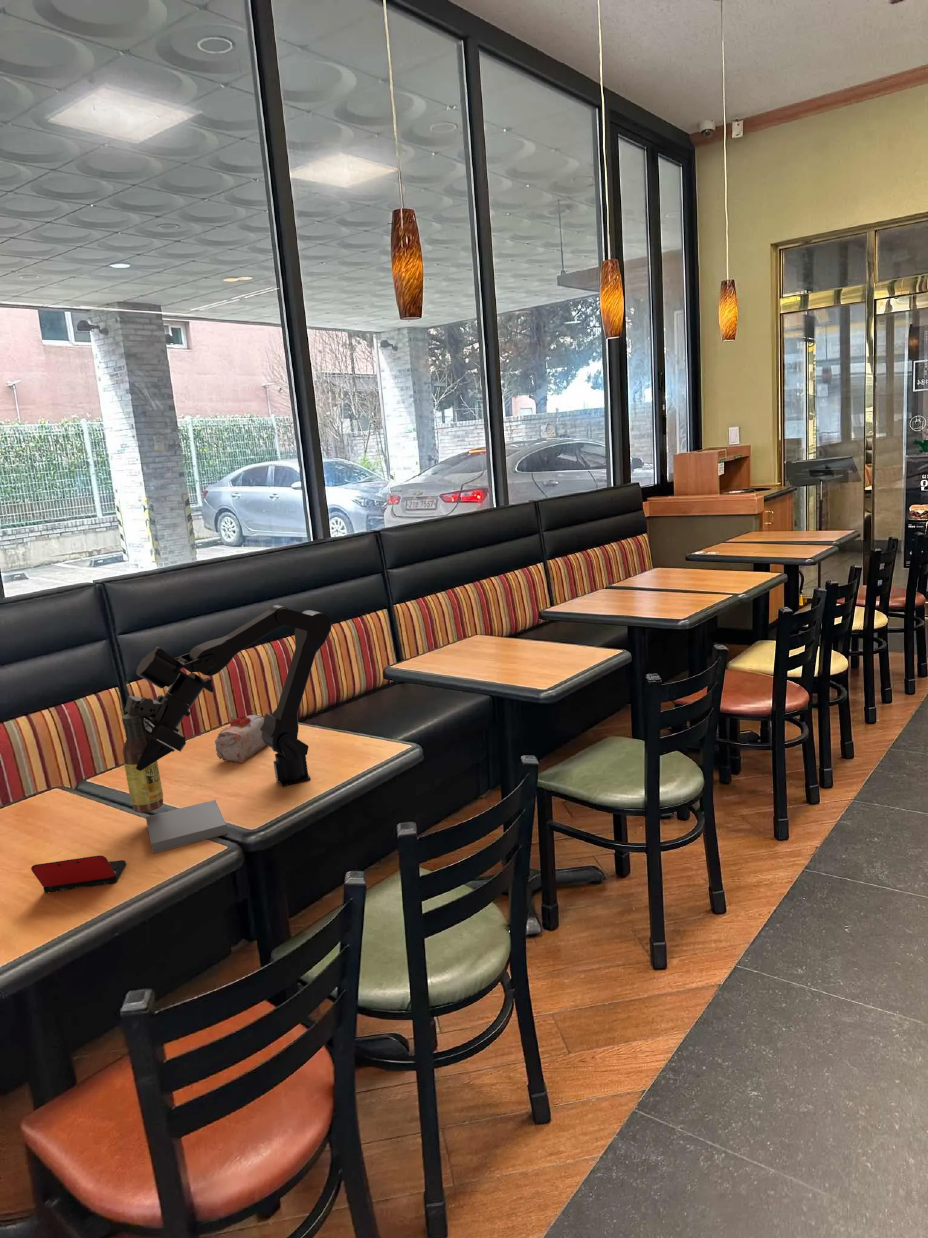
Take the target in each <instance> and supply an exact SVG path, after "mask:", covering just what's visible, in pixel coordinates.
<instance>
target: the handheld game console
mask: <svg viewBox="0 0 928 1238" xmlns="http://www.w3.org/2000/svg"><path fill="white" fill-rule="evenodd" d="M126 866H127V862H126V860H124V859H119V860H108V859H107V857H106V856H104V855H101V854H100V855H99V854H98V855H92V856H86V857H78V858H71V859H64V860H57V861H52V862H45V863H40V864H39V863H38V864H34V865H32V866H31V867H30V870H31V872H32V873H33V874H34V876H35V877H36V879H37V880H38V881H39V883H40V885H41V886H42V887H43V891H44V893H45V894H49V893H48V892H52V893H56V891H57V892H63V890H64V891H69V890H70V891H71V890H74V889H76V887H77V888H81V887H82V888H85V887H87V888H88V887H90V888H93V887H99V886H104V885H113V884H116V883H118V880H119V879H120V876H121V875H122V873H123V872H124V870H125V868H126Z"/></svg>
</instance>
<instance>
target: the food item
mask: <svg viewBox="0 0 928 1238" xmlns="http://www.w3.org/2000/svg"><path fill="white" fill-rule="evenodd" d="M263 723H264V717H263V716H261V715H257V714H250V715H247V716H244V715H242V716H240V717H236V718H235V717H233V716H232V717H230V721H229V725H230V726H228V727H227V726H226V727H225V728H224V729H222V730H220V731H219V733H217V734H218V736H217V737H216V739H214V744H215V752H216V756H217V758H219V760H221V759H222V760H223V761H226V762H231V763H237V764H243V763H244V762H245V761H247V760H248V759H250V758H251V757H252V756H253V755H254V754H255V755H256V753H257V752H260V751H261V750H262V749H264V748H265V747H266V746H268V745H266V744H265V743H264V741H263V739H262V731H261V730H260V728H261V727H262V726H263Z"/></svg>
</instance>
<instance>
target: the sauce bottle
mask: <svg viewBox="0 0 928 1238" xmlns="http://www.w3.org/2000/svg"><path fill="white" fill-rule="evenodd" d="M121 721H122V724H123V726H124V727H123V728H124V732H125V737H126V739H125V742H124V744H123V747H122V755H123V765H124V770H125V776H126V782H127V786H128V787H127V789H128V791H129V798H130V804H132V808H133V811H134V812H135V813H149V812H152V811H155V810H157V809H159V808H161V807H163V804H164V792H163V786H162V781H161V774H160V769H159V764H158V760H157V761H155V762H154V763H152V764H151V765H149V766H148V767H146V768H144V769H143V770H141V771H139V770H137V769H136V766H137V764H138V762H139V760H140V758H141V756H142V754H143V752H144V750H145V748H146V746H147V744H148V741H147V736H146V731H145V727H144V716H132V715H129V714H128V713H127V714H125V715H123V716H122V717H121Z"/></svg>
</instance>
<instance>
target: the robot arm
mask: <svg viewBox="0 0 928 1238" xmlns="http://www.w3.org/2000/svg"><path fill="white" fill-rule="evenodd" d="M282 626H288V627H291V628H294V642H295V648H294V652H293V656H292V658H291V661H290V665H289V668H288V671H287V674H286V676H285V677H286V678H285V681H284V685H283V688H282V690H281V694H280V698H279V700H278V704H277V707H276V708H275V710H274V711H273V712H272V714H270V713H267V712H266V713H265V714H264V717H263V718H264V723H263V726H262V727H261V728H260V730H261V731H262V739H263V741H264V743H265V744H266V745H267V746H268V747H269V748H271V749H272V751H273V752H274V753H275V754H274V756H275V757H274V758H275V760H273V769H274V775H275V779H276V780H277V782H279V783H280V785H281V786H282V787H285V786H289V785H295V784H297V783H302V782H305V781H310V780H311V776H310V775H309V772H308V770H309V769H308V763H307V757H306V756H307V755H308V751H309V744H307V743H305V742H304V741H301V740H300V739H298V736H299V728H300V727H299V718H298V716H299V714H298V713H299V710H300V706H301V704H302V701H303V697H304V693H305V690H306V686H307V683H308V680H309V677H310V673H311V670H312V667H313V664H314V660H315V657H316V655H317V652H318V651H319V650H321V648H322V647H323V645H324V644H325V643H326V641H327V638H328V636H329V634H330V632H331V631H332V621H331V620H330V617H329V616H328V615H327V614H325V613H323V612H319V611H315V610H313V609H312V610H310V609H308V610H303V611H300V612H299V611H297V610H294V609H290V608H288V607H285V606H284V605H283V606H282V605H278V604H277V605H276V604H275V605H272V606H271V607H270V608H269V609H268V610H266V611H265V612H263V613H261V614H260V615H257V617H255V618H253V619H251V620H249V621H248V622H246V623H245V624H243V625H241V626H240V627H238V628H237V629H235V630H233V631H232V632H230V633H228V634H226V635H225V636H222V637H219V638H215V639H210V640H207V641H205V642H202V643H200V644H198V645H196V646H194V647H193V648H192V649H190V651H189V653H185V654H183V655H180V656H177V657H174V656H171V655H170V654H168V653H167V652H166V651H165V650H163V648H160V647H159V646H155V647H154V649H153V650H152V651H150V652H149V653H148V654H146V656H145V657H143V658H142V659H141V660H140V661H139V664H138V665H137V668H136V671H135V673H136V675H137V676H139V677H140V678H142V679H144V680H145V681H147V682H149V683H151V684H152V685H154V686H156V687H157V688H159V689H164V688H165V687H167V688H168V690H167V691H166V693H165V694H164V695H162V694H160V695H158V696H157V697H156V699H152V698H151V697H149V698H146V697H145V696H143V697H139V696H135V695H134V696H133V695H128V697H127V700H126V704H125V708H124V712H125V713H127V714H129V715H132V716H144V727H145V731H146V736H147V741H148V744H147V746H146V748H145V750H144V752H143V754H142V756H141V758H140V760H139V762H138V764H137V766H136V769H137V770H139V771H141V770H143V769H144V768H146V767H148V766H149V765H151V764H152V763H154V762H155V761H157V762H158V760H160V759H161V758H164V757H165V756H167V755H169V754H170V753H174V752H175V751H179V752H182V750H183V749H184V747H185V745H186V744H187V742H186V738H185V736H184V735H182V734H181V733H179V731H180V729H178V726H179V725H180V724H181V723H182V721H183V719H184V718H185V717H187V718H189V717H190V715H191V713H192V712H191V711H190V709H191V707H192V706H193V704H194V703H195V702H196V700H197V699H198V697H199V696H200V694H201V693H202V691H203V689H205V690H206V691H208V692H210V693H214V692H215V690H214V686H213V680H212V678H210V677H211V676H212V677H213V676H215V675H217V674H219V672H221V671H223V669H224V668H226V667H227V666H228V665H229V664H230V663H231V661H232V660H233V659H234V658H235V657H236V655H237V654H239V653H240V652H242V651H243V650H245V649H247V648H248V647H250V646H251V645H253V644H254V643H256V642H258V641H259V640H261V639H262V638H264V637H266V636H268V635H269V634H270V633H272V632H274V631H276V630H277V629H278V628H280V627H282ZM181 669H184V670H186V671H188V672H190V673H188V674H186V673H185V672H184V671H181ZM197 673H200V674H202V675H203V676H207V677H205V678H203V677H201V676H200V675H198V674H197Z"/></svg>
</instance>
